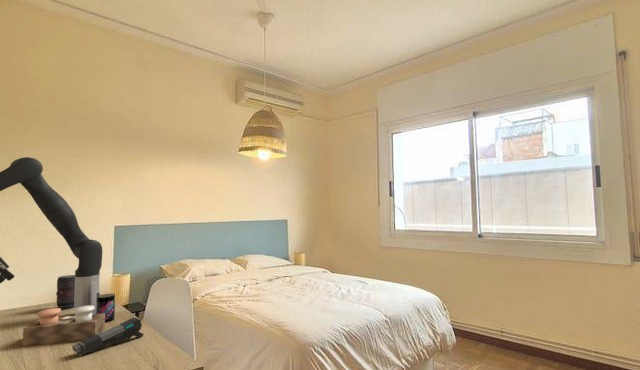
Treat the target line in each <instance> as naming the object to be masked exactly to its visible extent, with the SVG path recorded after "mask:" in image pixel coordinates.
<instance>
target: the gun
mask: <svg viewBox="0 0 640 370" xmlns="http://www.w3.org/2000/svg"><path fill="white" fill-rule="evenodd" d="M142 326H143V325H142V321H141V319H139V318H137V317H132V318H129V319H128V320H125V321H122V322H120V323H119V324H118V325H116V326H113V327H111V328H108V329H106V330H103V331H102V332H101V333H99V334H96V335H93V336H91V337H89V338H87V339H84V340H80V342H76V343H75V344H73V345H71V347H72V350H73V352H75V353H76V355H77V356H78V357H83V356H84V355H86V354H88V353H94V352H96V351H98V350H101V349H102V348H103V347H106V346H107V345H109V344H110V345H113V344H115V345H118V344H119V343H122V342H123V341H130V339H131V338H132V337H136V338H140V339H142V338H143V336H144V333H143V332H140V331H141V329H142ZM141 337H142V338H141Z"/></svg>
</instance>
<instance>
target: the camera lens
mask: <svg viewBox="0 0 640 370" xmlns="http://www.w3.org/2000/svg"><path fill="white" fill-rule="evenodd" d="M74 294H75V274H70V275H69V274H68V275H60V276H58V277H57V280H56V307H57V308H60V309H61V311H63V310H70V309H74Z"/></svg>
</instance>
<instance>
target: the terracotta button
mask: <svg viewBox="0 0 640 370" xmlns="http://www.w3.org/2000/svg"><path fill="white" fill-rule="evenodd" d="M61 313H62V310H61V309H60V308H58V307H55V308H47V309H43V310H40V311H38V312H37V318H38V317H39V319H40V325H48V324H55V323H57V322H58V318H59V315H60V314H61Z"/></svg>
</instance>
